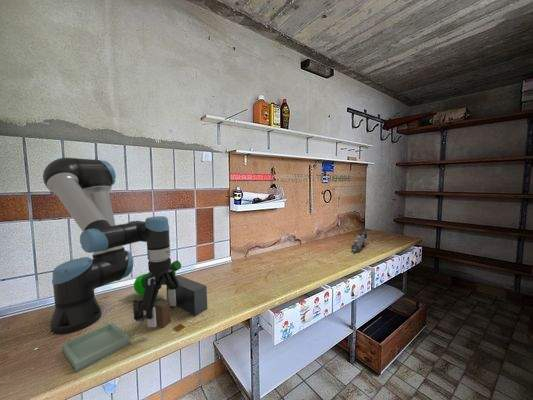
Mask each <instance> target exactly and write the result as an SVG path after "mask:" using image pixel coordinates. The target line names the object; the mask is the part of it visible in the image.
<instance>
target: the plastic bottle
mask: <svg viewBox="0 0 533 400" xmlns="http://www.w3.org/2000/svg"><path fill="white" fill-rule="evenodd" d="M171 266H173V270H174V273H175V276H177V275H176V274H177V271H179V270H181V268H182V264H181V262H180V261H179V260H174V261H173V262H171ZM150 278H152V273H151V272H149V271H148V272H147V273H143V274H141V275H139V276H137V277H136V278H135V281H134V282H133V288H134V291H135V292H136V293H137V294H138V296H139V295H141V296H144V292H145V287H146V279H150ZM154 286H156V285H155V284H154ZM162 286H166V284H165V283H163V285H162Z"/></svg>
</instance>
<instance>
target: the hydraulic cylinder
mask: <svg viewBox="0 0 533 400" xmlns="http://www.w3.org/2000/svg"><path fill="white" fill-rule="evenodd" d="M368 236H369V232H368V231H365V232H364V231H360V232H358V235H357V236H356V237H355V239H354V242H353V243H352V244H351V249H350V250H351V251H352V252H353V253H358V252H360V250H361V248H362V247H363V248H364V247H366V245H367V244H366V243H365V240H366V239H367V238H368Z"/></svg>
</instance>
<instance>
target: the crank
mask: <svg viewBox="0 0 533 400" xmlns="http://www.w3.org/2000/svg"><path fill="white" fill-rule="evenodd" d="M162 300H164V301H165V299H164V298H162V297H161V298H160V297H159V298H156V301H155V304H157V303H158V302H160V301H162ZM142 301H143V298H137V299H134V300H132V310H133V320H134V321H136V322H143V321H145V320H147V316H146V311H144V310H141V306H142ZM155 304H154V305H155Z"/></svg>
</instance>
